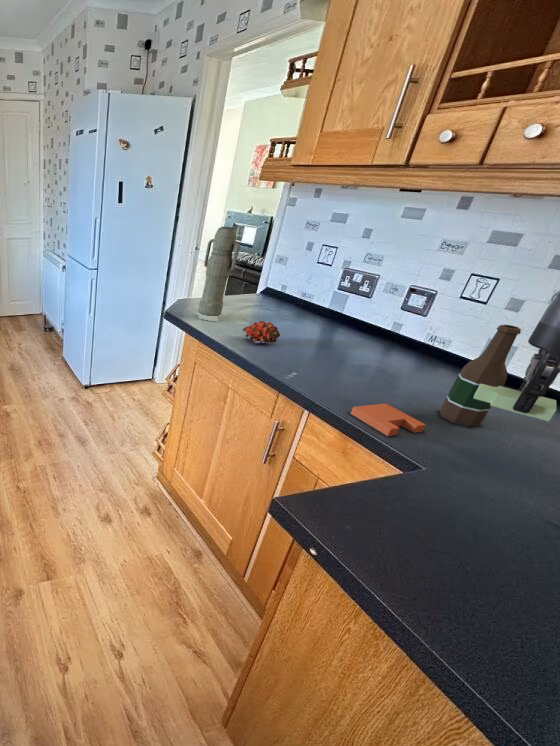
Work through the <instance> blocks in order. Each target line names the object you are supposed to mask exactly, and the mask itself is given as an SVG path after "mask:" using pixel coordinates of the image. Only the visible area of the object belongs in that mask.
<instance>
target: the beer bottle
mask: <svg viewBox="0 0 560 746" xmlns="http://www.w3.org/2000/svg"><path fill="white" fill-rule="evenodd" d="M496 330H497V331H496V332H495V333H494V335H493V337H492V338H491V339H490V341H489V343H488V344H487V346H486V347H485V348H484V350H483V351H482V353H481V354H480V355H479V356H478V357H476V358H474V359H472V360H470V361H469V362H467V363H466V364H465V365H464V366H463V367H462V368H461V370H460V371H459V373H458V375H457V377H456V378H455V381H454V382H453V384H452V386H451V388H450V390H449V392H448V394H447V395H446V397H445V399H444V401H443V403H442V405H441V407H440V410H439V414H440V417H441V418H443V419H444V420H446V421H448V422H450V423H452V424H455V425H459V426H462V427H463V426H464V427H467V428H473V427H478V426H480V425H481V423H482V422H484V421H483V420H484V419H485V418H486V416H487V414H488V413H489V411H490V409H491V408H492V406H490V404H491V403H488V402H485V401H481V400H477V399H474V395H475V393H476V391H477V389H478V388H479V386H480V384H484V385H488V386H492V387H496V388H498V386H501V387H505V383H506V382H507V379H508V370H507V367H506V361H507V357H508V355H509V353H510V351H511V349H512V346H513V345H514V342H515V340H516V338H517V336H518V335H520V334H521V332H522V329H521V328H520V327H518V326H515V325H510V324H500V325H498V326H497V327H496Z"/></svg>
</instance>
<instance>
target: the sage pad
mask: <svg viewBox="0 0 560 746" xmlns="http://www.w3.org/2000/svg"><path fill="white" fill-rule="evenodd" d="M521 393H522V392H521V391H518V390H517V389H513V388H510V387H505V386H503V387H501V386H498V388H496V387H492V386H488V385H484V384H480V386H479V388H478V389H477V391H476V393H475V395H474V399H477V400H481V401H485V402H488V403H491V404H490V406H491V407H494V408H498V409H502V410H504V411H508V412H512V413H516V414H519V415H523V416H527V417H531V418H534V419H537V420H541V421H543V422H544V421H545V422H550V421H551V419H552V418H553V416H554V415H555V414H556V412H557V400H556V399H553V398H548V397H545V396H543V397H539V398H538V399H537V401H536V402H535V404H534V405H533V407H532V409H531V410H530V412H529V413H522V412H518V411H515V410H513V406H514V404H515V403H516V401H517V399H518V398H519V396H520V394H521Z"/></svg>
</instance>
